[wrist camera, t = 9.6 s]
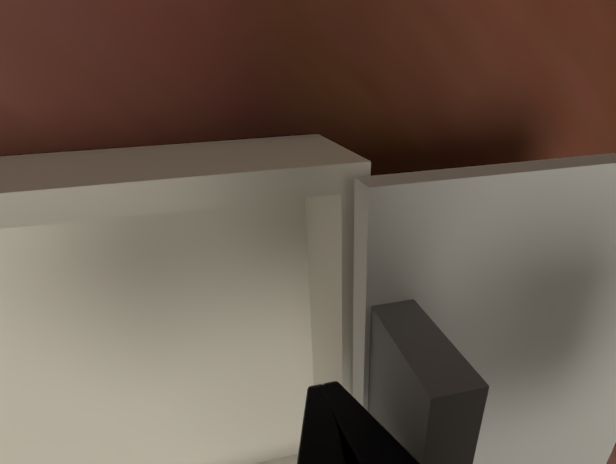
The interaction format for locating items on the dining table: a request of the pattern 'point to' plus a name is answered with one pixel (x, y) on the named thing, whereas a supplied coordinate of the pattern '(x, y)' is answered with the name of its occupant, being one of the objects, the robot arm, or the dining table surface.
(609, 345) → the flap
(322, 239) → the carton
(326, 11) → the dining table surface
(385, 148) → the dining table surface
